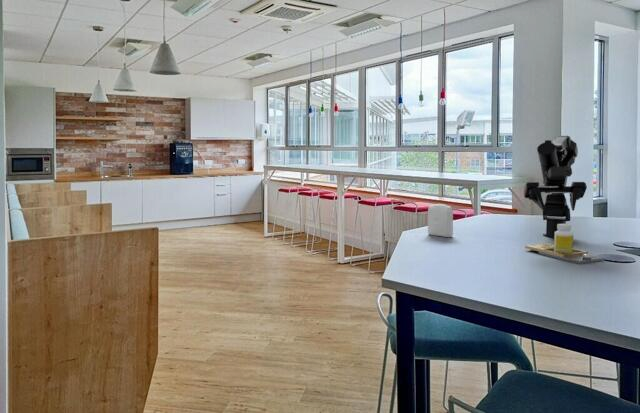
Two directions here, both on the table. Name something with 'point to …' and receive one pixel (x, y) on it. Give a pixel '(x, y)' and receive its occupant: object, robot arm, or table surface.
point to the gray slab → (574, 257)
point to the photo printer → (440, 220)
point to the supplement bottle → (563, 239)
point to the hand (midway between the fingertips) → (558, 209)
